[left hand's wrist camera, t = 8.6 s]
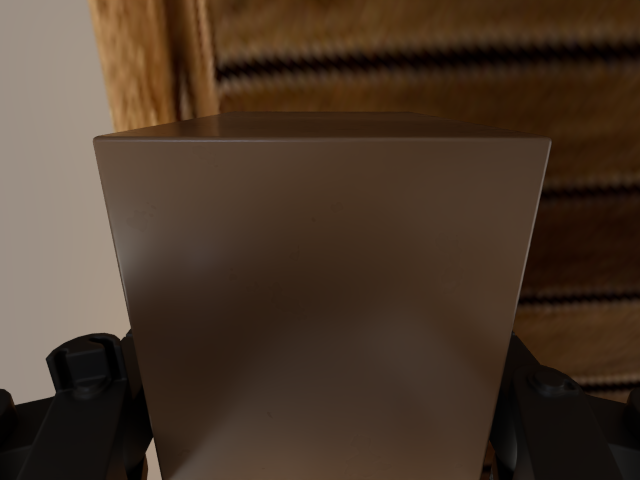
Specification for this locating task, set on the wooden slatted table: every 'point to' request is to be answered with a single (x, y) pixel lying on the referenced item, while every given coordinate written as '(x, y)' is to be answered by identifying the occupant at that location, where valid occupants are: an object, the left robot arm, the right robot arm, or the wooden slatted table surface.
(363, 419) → the bar
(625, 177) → the wooden slatted table surface
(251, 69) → the wooden slatted table surface
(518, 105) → the wooden slatted table surface
